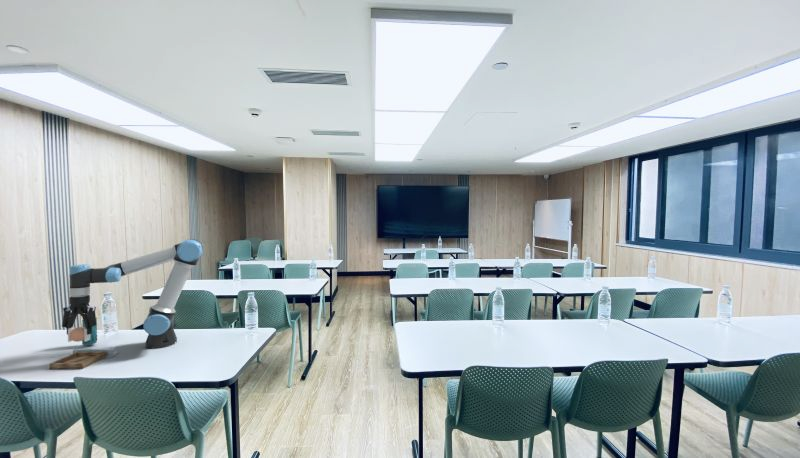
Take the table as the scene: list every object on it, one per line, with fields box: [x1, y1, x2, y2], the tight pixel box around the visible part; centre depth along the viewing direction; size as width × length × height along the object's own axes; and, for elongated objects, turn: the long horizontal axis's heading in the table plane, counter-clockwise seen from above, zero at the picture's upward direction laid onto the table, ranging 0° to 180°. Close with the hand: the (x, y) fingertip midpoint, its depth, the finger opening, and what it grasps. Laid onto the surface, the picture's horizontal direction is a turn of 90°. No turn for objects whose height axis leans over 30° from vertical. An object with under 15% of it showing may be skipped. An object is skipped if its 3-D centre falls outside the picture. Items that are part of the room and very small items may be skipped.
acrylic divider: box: [72, 348, 119, 359], centre depth 177 cm, size 21×5×4 cm, turn 95°
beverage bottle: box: [81, 311, 98, 346], centre depth 190 cm, size 6×7×20 cm
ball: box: [70, 326, 85, 343], centre depth 168 cm, size 7×7×7 cm
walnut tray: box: [48, 352, 107, 370], centre depth 168 cm, size 15×15×3 cm
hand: (79, 340), depth 168 cm, fingers closed on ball, 7 cm apart
